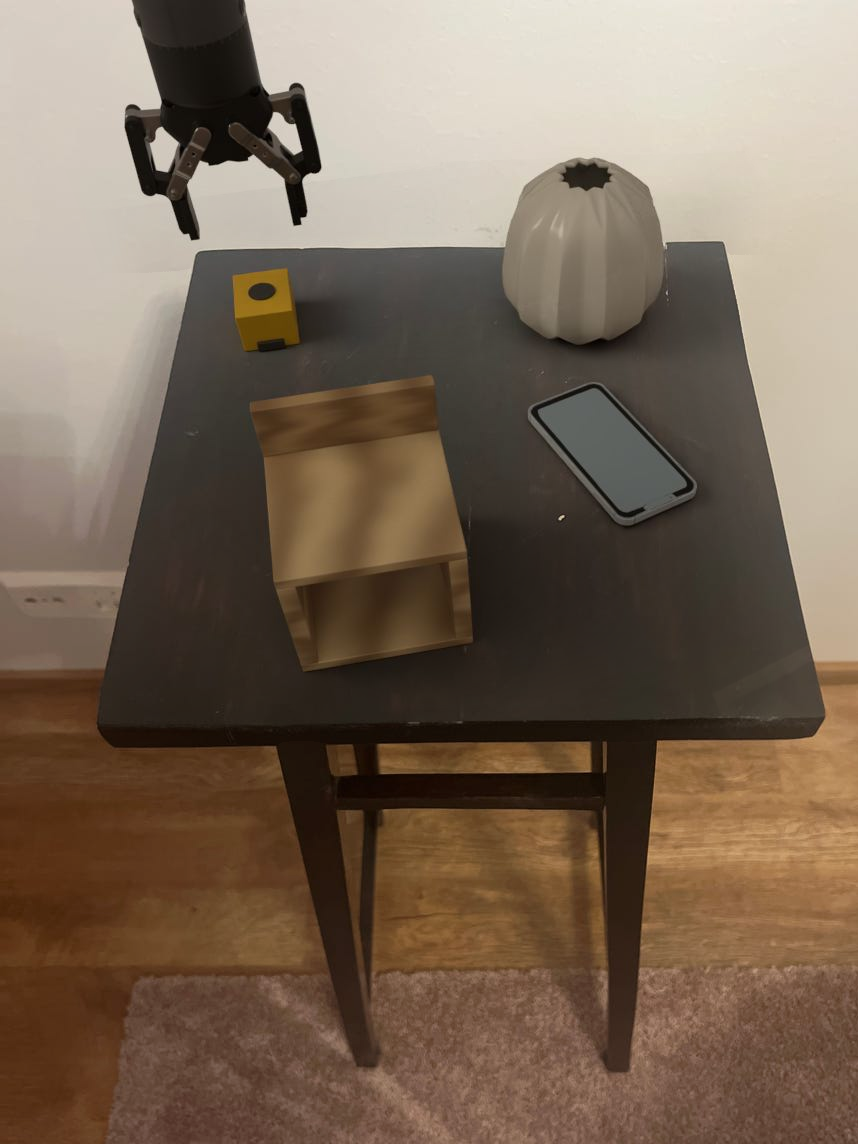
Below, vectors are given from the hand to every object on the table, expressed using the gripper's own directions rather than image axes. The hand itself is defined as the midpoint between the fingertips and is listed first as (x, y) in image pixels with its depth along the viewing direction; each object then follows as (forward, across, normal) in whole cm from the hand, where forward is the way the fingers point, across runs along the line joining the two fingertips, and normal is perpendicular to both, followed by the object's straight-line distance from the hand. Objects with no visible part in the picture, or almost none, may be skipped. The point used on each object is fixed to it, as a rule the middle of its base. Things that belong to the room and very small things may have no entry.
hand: (246, 227), depth 82 cm
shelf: (+10, -6, +33) cm, 35 cm away
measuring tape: (+10, 0, 0) cm, 10 cm away
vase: (+10, -28, +5) cm, 30 cm away
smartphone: (+10, -26, +23) cm, 36 cm away
